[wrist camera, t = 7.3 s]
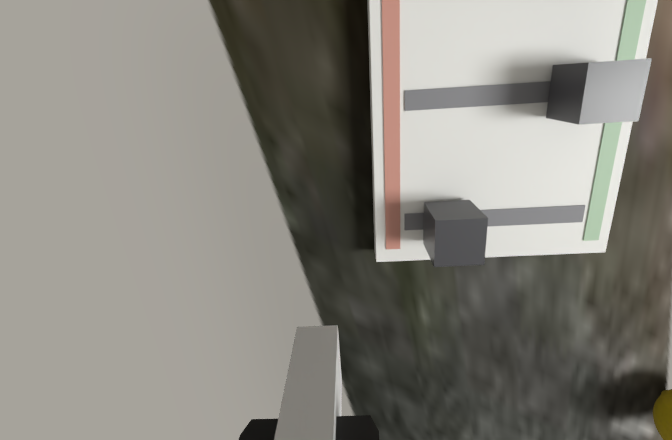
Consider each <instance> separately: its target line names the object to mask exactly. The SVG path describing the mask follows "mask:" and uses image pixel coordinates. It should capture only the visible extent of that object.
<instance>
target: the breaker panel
mask: <svg viewBox="0 0 672 440" xmlns="http://www.w3.org/2000/svg"><path fill="white" fill-rule="evenodd" d="M657 2H658V0H367V4H368V39H369V74H370V109H371V143H372V178H373V213H374V248H375V256H376V262H386V261H409V260H431V259H430V257H429V255H428V253H427V251H426V248H425V246H424V244H423V223H424V202H435V201H455V200H470V201H471V202H472V203H473V204H474V205H475V206H476V207H477V208H478V209H480V210H481V211H482V212H483V213H484V214H485V215H486V216H487V217H488V226H487V238H486V250H485V257H504V256H527V255H551V254H574V253H598V252H605V251H606V247H607V242H608V237H609V232H610V227H611V223H612V218H613V213H614V208H615V203H616V199H617V194H618V189H619V184H620V179H621V175H622V170H623V165H624V160H625V156H626V151H627V146H628V141H629V136H630V132H631V127H632V122H633V121H631V122H614V123H597V124H580V125H579V124H573V123H568V122H563V121H558V120H553V119H548V118H546V113H547V105H548V97H549V90H550V82H551V74H552V67H553V65H559V64H574V63H589V62H604V61H619V60H634V59H646V55H647V50H648V45H649V41H650V36H651V31H652V26H653V21H654V17H655V12H656V7H657Z"/></svg>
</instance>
